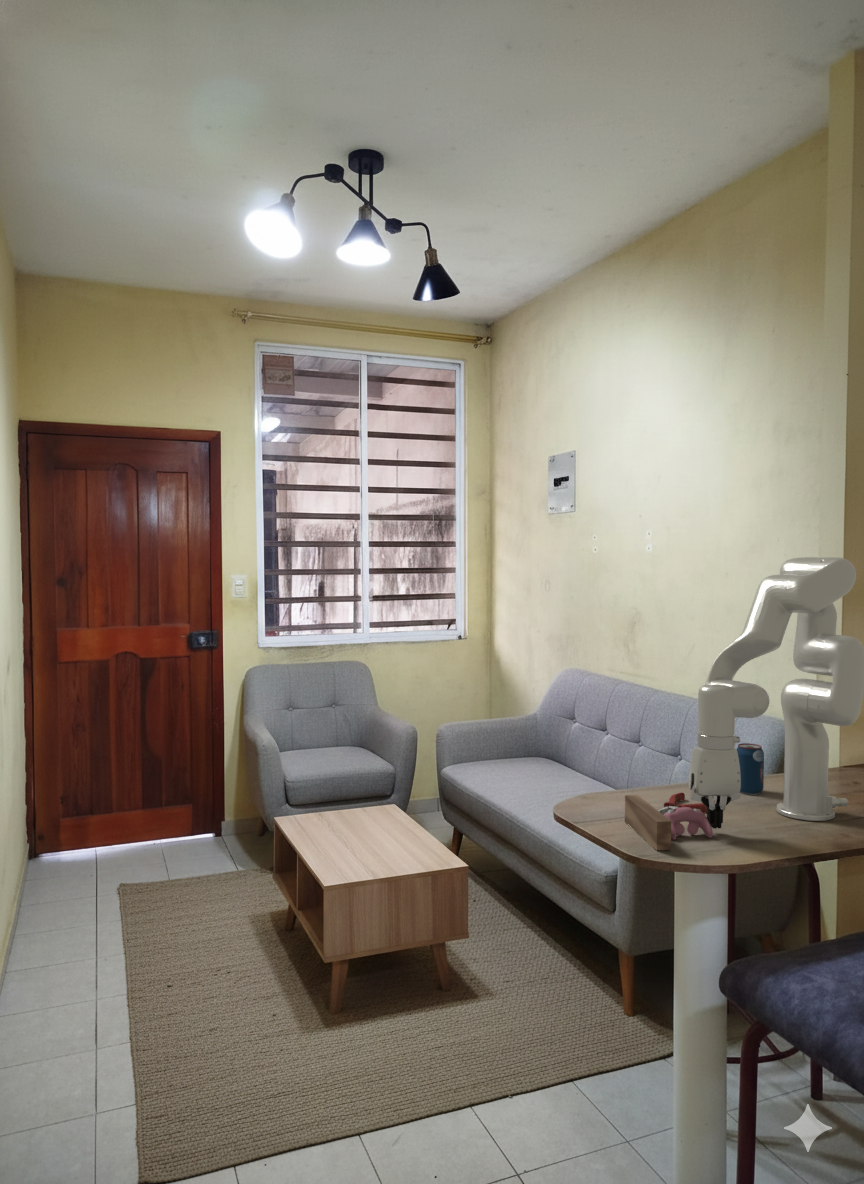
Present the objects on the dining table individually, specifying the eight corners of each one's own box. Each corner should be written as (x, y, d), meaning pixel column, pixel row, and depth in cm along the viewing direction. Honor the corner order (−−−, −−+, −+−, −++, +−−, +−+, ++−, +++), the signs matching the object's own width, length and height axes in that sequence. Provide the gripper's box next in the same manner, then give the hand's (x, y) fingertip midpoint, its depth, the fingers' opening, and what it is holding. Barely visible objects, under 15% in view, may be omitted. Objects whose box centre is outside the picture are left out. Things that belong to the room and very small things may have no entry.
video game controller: (706, 840, 185) (699, 808, 188) (716, 837, 181) (709, 803, 184) (663, 843, 183) (657, 809, 186) (672, 839, 179) (666, 805, 182)
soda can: (768, 795, 217) (769, 748, 216) (741, 795, 216) (742, 748, 216) (756, 788, 224) (756, 742, 223) (730, 788, 223) (731, 742, 223)
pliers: (634, 816, 199) (635, 805, 199) (679, 800, 213) (679, 790, 213) (679, 827, 191) (679, 816, 191) (722, 810, 205) (723, 799, 205)
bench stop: (637, 821, 193) (638, 795, 193) (670, 850, 173) (671, 821, 173) (624, 821, 193) (625, 795, 193) (656, 851, 173) (657, 821, 173)
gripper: (740, 738, 189) (739, 820, 189) (675, 739, 187) (674, 822, 188) (757, 745, 181) (756, 831, 182) (689, 746, 180) (688, 833, 180)
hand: (714, 826), depth 185 cm, fingers closed
